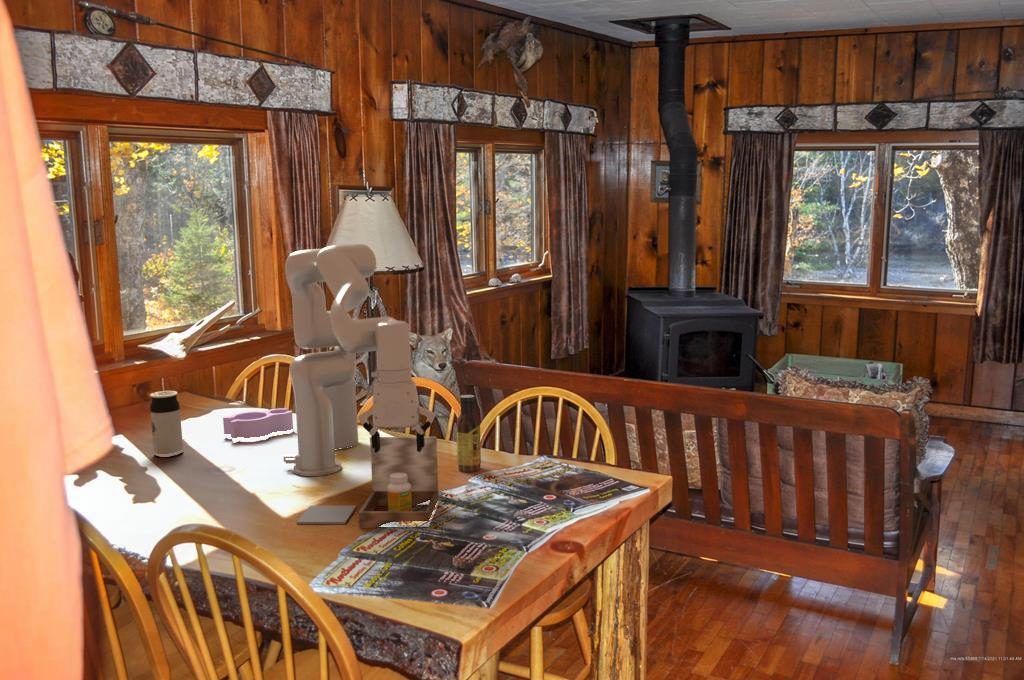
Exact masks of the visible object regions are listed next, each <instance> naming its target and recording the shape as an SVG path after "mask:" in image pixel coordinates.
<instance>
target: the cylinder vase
mask: <svg viewBox="0 0 1024 680" xmlns="http://www.w3.org/2000/svg"><path fill="white" fill-rule="evenodd" d="M356 386H357V385H356V377H355V378H354V380H353V381H352V382H351V383H349V384H346V385H341V386H334V387H327V388H324V389H322V391H323V393H324V394H325V395H326V396H327V397H328V398H329V400H330V401H331V404H332V412H333V429H334V447H335V449H339V448H347V447H351V446H353V447H355V446H356V445H358V443H359V431H358V430H359V429H358V410H357V408H358V406H357V392H356V391H357V389H356V388H357V387H356ZM354 445H355V446H354ZM351 448H352V447H351ZM347 449H348V448H347Z"/></svg>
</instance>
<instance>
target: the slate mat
mask: <svg viewBox="0 0 1024 680" xmlns="http://www.w3.org/2000/svg"><path fill="white" fill-rule="evenodd" d="M356 508H357V505H310V506H309V507H308V508H307V509H306V510H305V511H304V513H303V514H302V515H301V517H300V518H299V519H298V520H297V521H296V524H297V525H346V524H347V523H348V521H349V519H350V518H351V516H352V515H353V514H354V512H355V511H356V510H357V509H356Z"/></svg>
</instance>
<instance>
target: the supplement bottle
mask: <svg viewBox="0 0 1024 680" xmlns="http://www.w3.org/2000/svg"><path fill="white" fill-rule="evenodd" d="M407 481H408V476H407V474H406V473H401V472H399V473H393V474H391V475H390V482H391V483H390V484H389V485H388V488H387V491H388V507H387V509H388V510H387V511H411V510H412V511H413V506H412V496H411V485H410V483H408V482H407Z"/></svg>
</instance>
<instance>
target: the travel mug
mask: <svg viewBox="0 0 1024 680" xmlns="http://www.w3.org/2000/svg"><path fill="white" fill-rule="evenodd" d="M177 396H178V391H176V390H162V391H155V392H152V393H150V394H149V397H150V398H151V403H150V405H149V409H150V410H149V412H150V421H151V436H152V445H153V446H152V447H153V453H154V452H155V453H157V454H169V453H174V452H178V451H180V450H182V449H183V450H184V444H183V443H184V442H183V433H182V432H183V430H182V420H181V407H180V406H181V405H180V402H179V400H178V397H177Z"/></svg>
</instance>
